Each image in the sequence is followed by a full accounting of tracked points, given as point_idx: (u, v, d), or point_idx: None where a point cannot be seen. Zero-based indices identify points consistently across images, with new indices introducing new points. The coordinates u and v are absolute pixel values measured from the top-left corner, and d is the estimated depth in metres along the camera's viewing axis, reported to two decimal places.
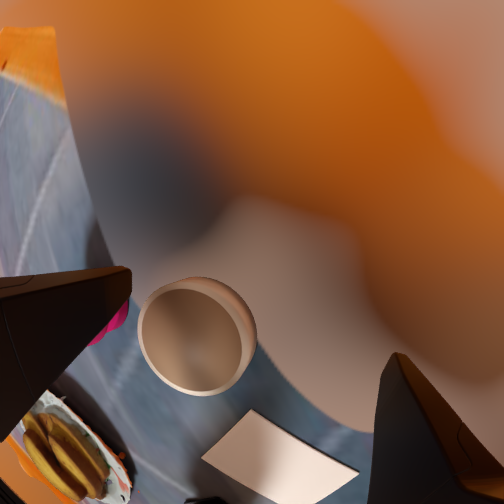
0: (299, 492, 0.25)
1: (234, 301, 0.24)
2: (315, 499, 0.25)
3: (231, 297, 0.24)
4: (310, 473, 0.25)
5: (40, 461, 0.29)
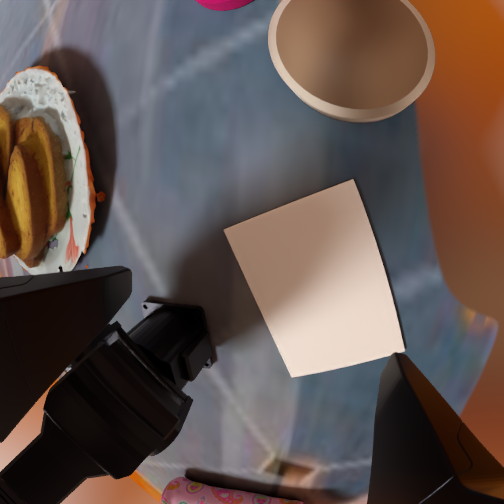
0: (320, 345, 0.23)
1: None
2: (329, 365, 0.24)
3: None
4: (357, 319, 0.22)
5: None
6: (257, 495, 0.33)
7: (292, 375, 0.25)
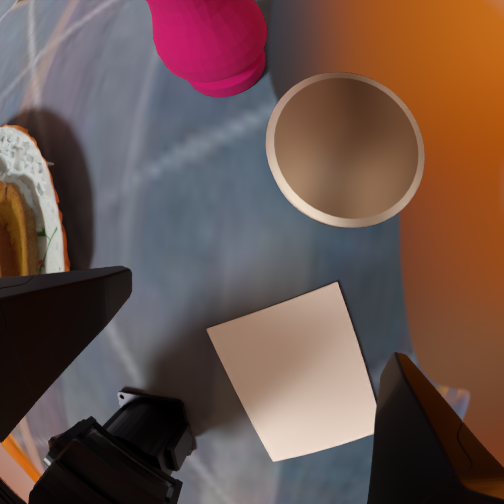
0: (301, 432, 0.22)
1: None
2: (310, 449, 0.22)
3: None
4: (337, 408, 0.21)
5: None
6: None
7: (273, 459, 0.22)
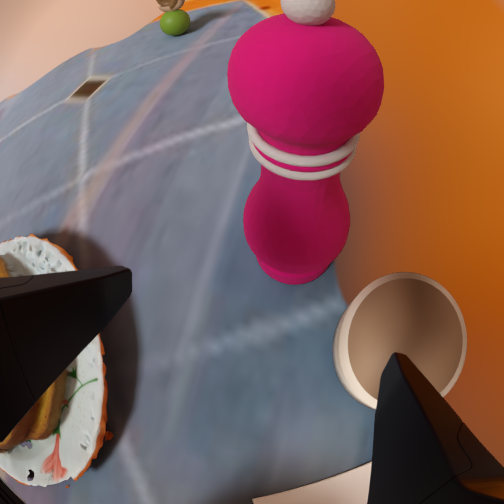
0: None
1: None
2: None
3: None
4: None
5: None
6: None
7: None
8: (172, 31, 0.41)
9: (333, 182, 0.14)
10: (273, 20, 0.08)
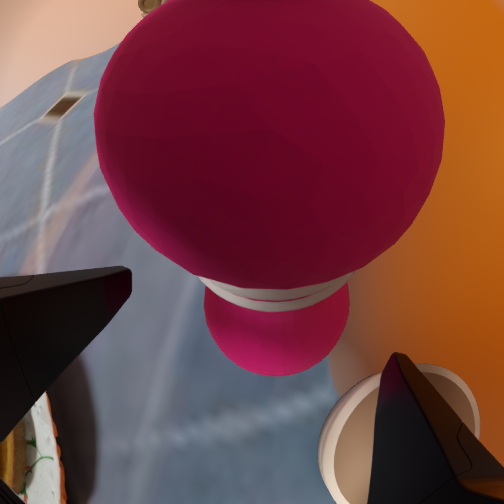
0: None
1: None
2: None
3: None
4: None
5: None
6: None
7: None
8: None
9: None
10: None
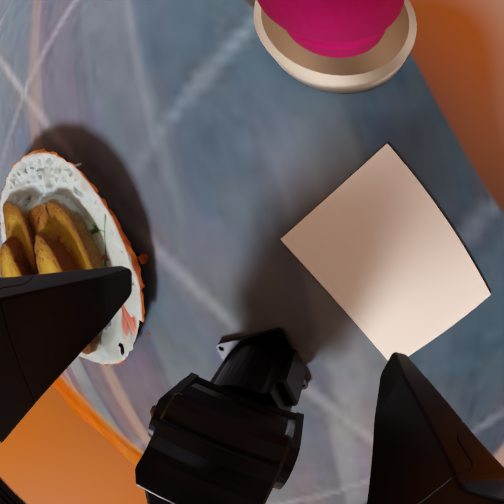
0: (411, 321, 0.20)
1: None
2: (426, 338, 0.20)
3: None
4: (438, 280, 0.19)
5: None
6: None
7: None
8: None
9: None
10: None
